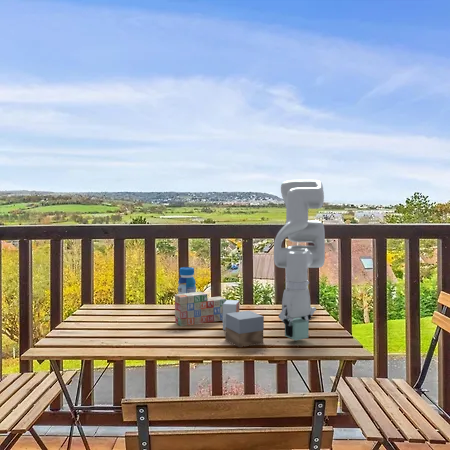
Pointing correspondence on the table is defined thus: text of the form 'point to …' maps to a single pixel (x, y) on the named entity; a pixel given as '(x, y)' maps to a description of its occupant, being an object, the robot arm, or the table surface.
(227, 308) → the small box
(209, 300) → the stack of blocks
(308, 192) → the robot arm
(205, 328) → the table surface
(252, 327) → the grey block
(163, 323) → the table surface
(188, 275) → the beverage bottle
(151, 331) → the table surface
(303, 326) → the green cube
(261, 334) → the walnut block
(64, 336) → the table surface
